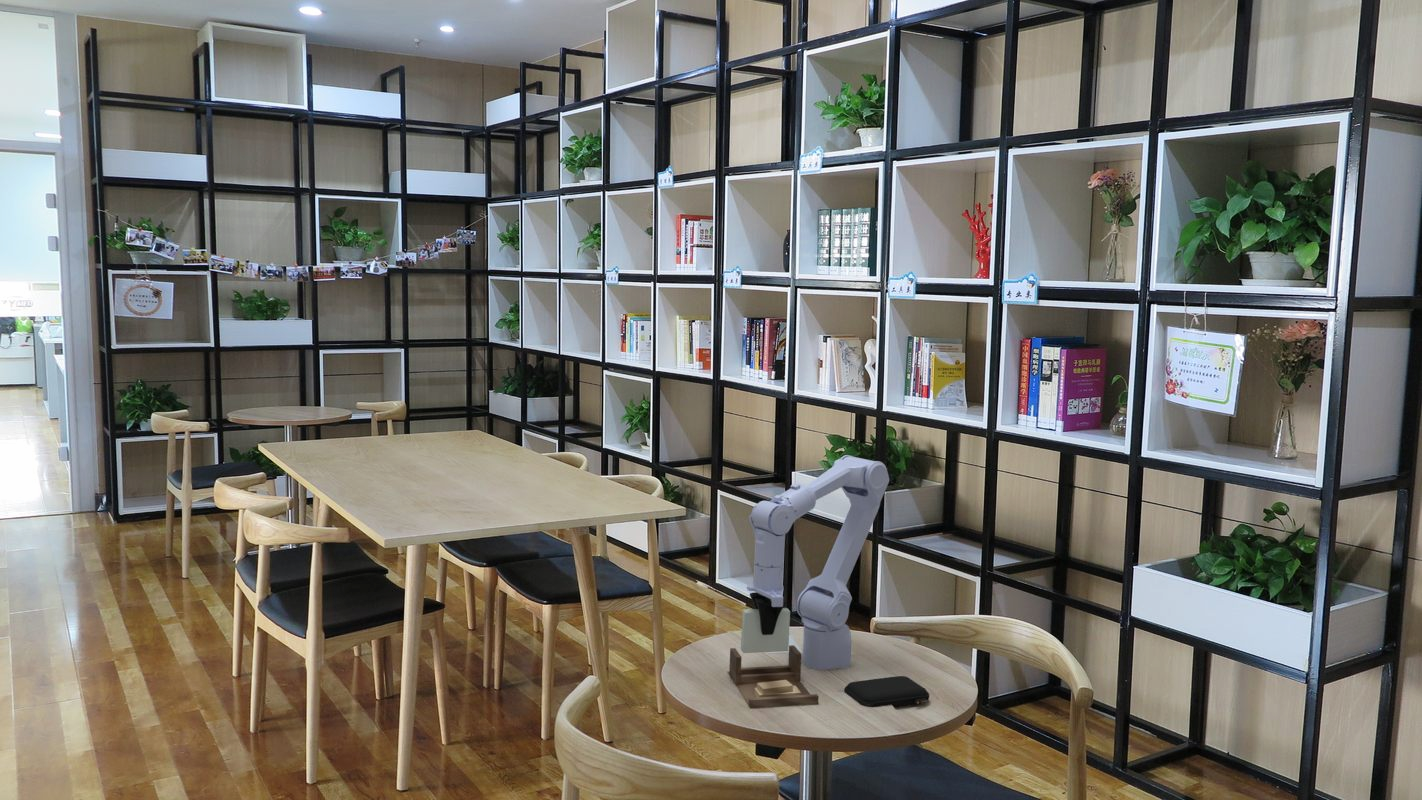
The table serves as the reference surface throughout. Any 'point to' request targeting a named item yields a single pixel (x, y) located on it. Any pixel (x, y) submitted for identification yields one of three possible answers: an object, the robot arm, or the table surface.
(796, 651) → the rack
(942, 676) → the table surface
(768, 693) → the offcut stack
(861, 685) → the carrying case or bag
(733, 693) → the table surface
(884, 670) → the table surface
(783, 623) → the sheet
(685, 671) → the table surface
